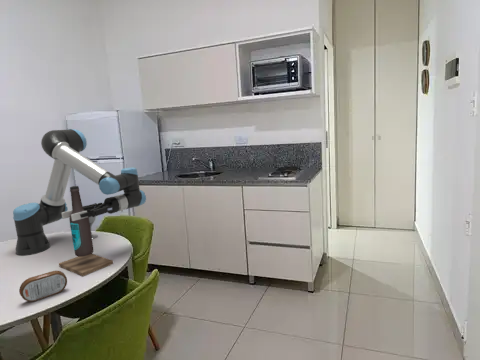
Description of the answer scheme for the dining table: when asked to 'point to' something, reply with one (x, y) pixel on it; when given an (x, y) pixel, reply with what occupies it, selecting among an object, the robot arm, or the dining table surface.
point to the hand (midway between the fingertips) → (67, 216)
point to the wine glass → (91, 221)
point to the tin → (43, 286)
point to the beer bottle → (80, 227)
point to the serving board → (85, 264)
